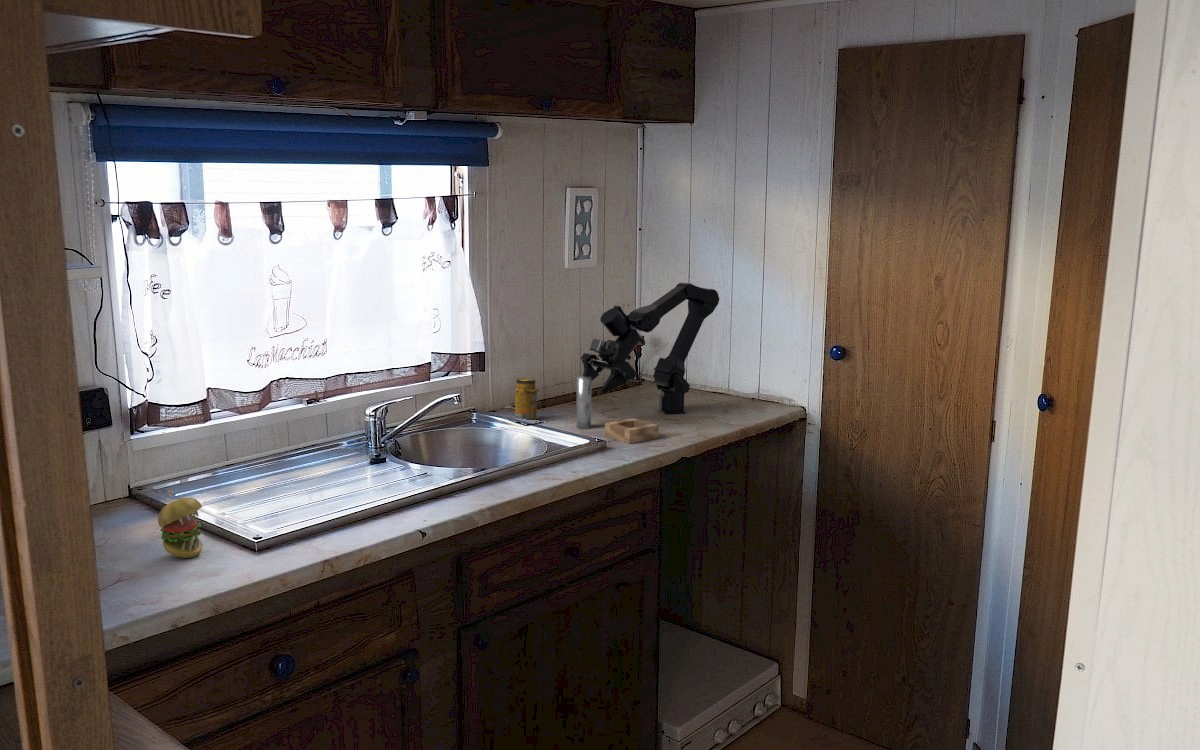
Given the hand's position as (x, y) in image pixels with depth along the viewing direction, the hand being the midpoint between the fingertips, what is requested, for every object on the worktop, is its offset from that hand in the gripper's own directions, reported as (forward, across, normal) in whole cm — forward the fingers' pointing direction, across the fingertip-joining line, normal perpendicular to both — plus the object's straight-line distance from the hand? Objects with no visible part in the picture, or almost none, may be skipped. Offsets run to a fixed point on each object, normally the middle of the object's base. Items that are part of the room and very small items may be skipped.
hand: (590, 390), depth 281 cm
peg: (+9, 0, +6) cm, 10 cm away
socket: (+6, +16, +8) cm, 19 cm away
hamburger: (+93, +34, -76) cm, 125 cm away
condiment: (+15, -15, 0) cm, 21 cm away
